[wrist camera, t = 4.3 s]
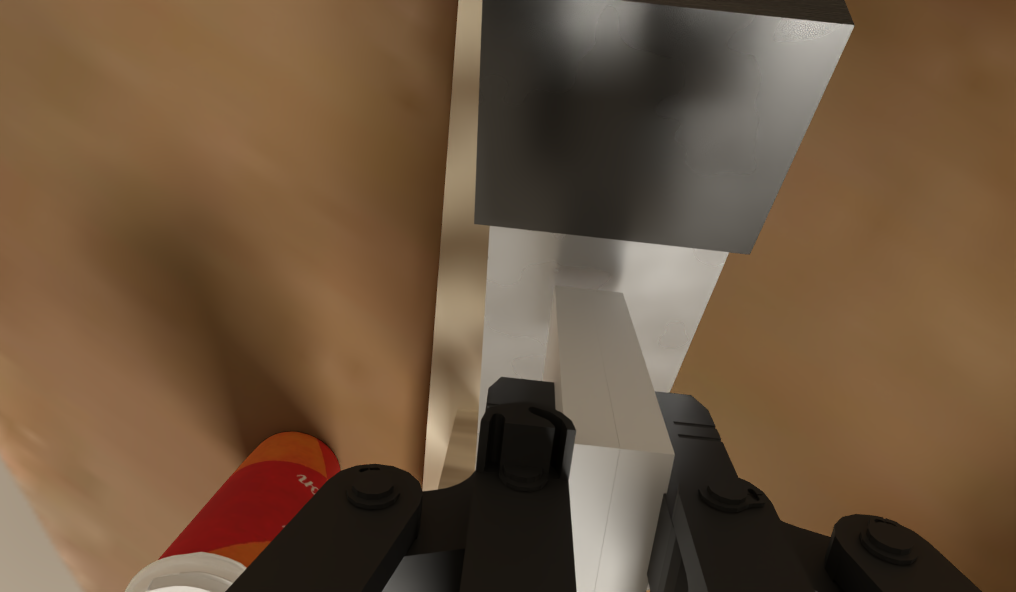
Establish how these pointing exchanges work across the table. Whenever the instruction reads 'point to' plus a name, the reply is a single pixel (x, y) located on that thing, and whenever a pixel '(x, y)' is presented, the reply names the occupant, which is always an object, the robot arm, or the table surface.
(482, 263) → the press base
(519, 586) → the robot arm
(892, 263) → the table surface
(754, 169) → the lever
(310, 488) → the paper cup
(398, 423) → the table surface
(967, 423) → the table surface
